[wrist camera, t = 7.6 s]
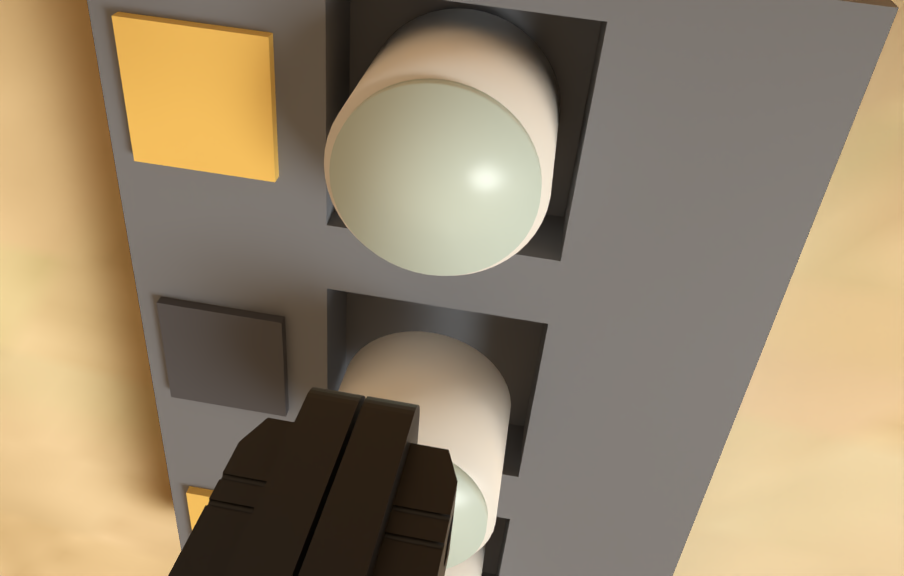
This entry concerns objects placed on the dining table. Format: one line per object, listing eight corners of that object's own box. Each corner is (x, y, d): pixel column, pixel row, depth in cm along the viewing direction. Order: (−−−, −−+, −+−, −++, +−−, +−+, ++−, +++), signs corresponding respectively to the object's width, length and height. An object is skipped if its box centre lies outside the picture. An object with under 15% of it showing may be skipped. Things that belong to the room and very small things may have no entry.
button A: (575, 22, 19) (569, 92, 15) (544, 205, 22) (533, 298, 18) (369, -5, 19) (318, 58, 16) (364, 178, 22) (321, 265, 19)
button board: (860, -32, 19) (903, 12, 16) (632, 597, 33) (635, 676, 30) (135, -122, 20) (61, -95, 17) (217, 521, 34) (184, 591, 31)
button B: (521, 347, 22) (506, 465, 18) (499, 470, 25) (483, 592, 21) (344, 318, 22) (297, 428, 19) (343, 443, 25) (302, 559, 22)
